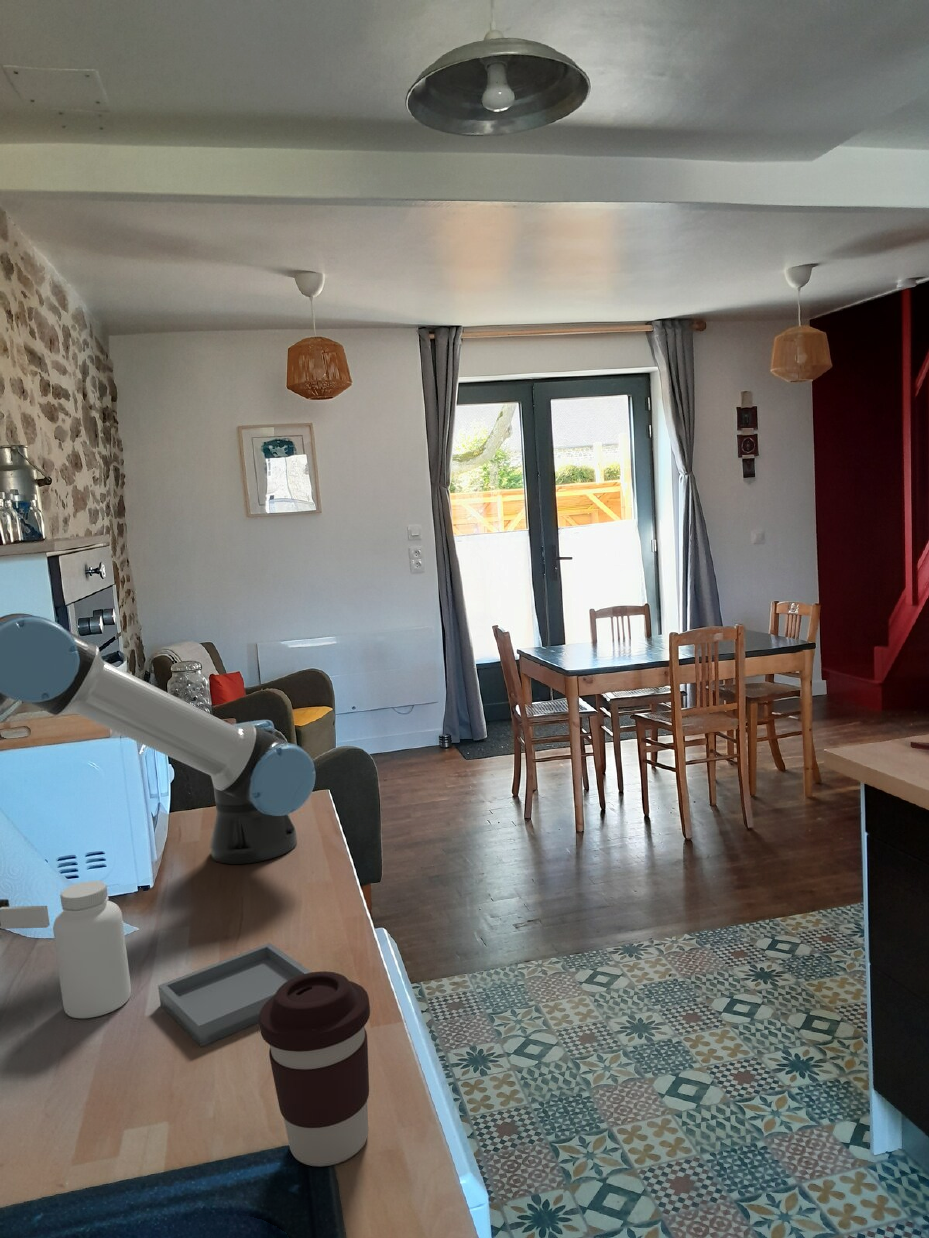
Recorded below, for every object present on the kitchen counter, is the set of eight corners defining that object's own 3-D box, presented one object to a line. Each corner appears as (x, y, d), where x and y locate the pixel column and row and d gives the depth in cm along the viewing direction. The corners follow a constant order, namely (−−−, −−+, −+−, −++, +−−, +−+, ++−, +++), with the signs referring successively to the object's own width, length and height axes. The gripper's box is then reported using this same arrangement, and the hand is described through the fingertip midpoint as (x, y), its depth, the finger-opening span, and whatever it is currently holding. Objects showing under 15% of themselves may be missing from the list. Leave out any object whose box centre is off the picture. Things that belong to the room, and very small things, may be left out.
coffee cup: (389, 1165, 82) (372, 1005, 80) (275, 1190, 80) (255, 1027, 78) (377, 1098, 91) (361, 954, 90) (275, 1119, 90) (257, 973, 88)
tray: (271, 960, 123) (269, 942, 123) (319, 995, 113) (317, 975, 112) (160, 1004, 114) (158, 985, 113) (201, 1046, 103) (198, 1025, 103)
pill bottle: (109, 1021, 111) (92, 901, 109) (50, 1019, 113) (33, 901, 111) (145, 987, 119) (129, 875, 117) (89, 986, 120) (73, 875, 119)
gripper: (-66, 928, 131) (73, 924, 129) (-215, 1024, 107) (-47, 1022, 104) (-74, 877, 131) (66, 872, 128) (-226, 962, 106) (-56, 959, 103)
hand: (16, 940), depth 116 cm, fingers open, 13 cm apart
